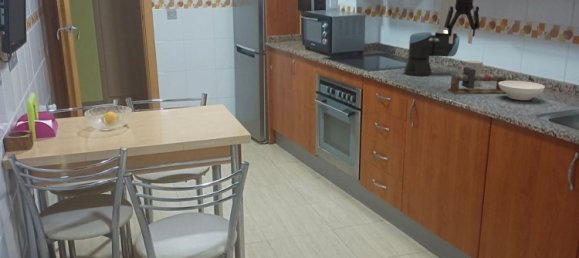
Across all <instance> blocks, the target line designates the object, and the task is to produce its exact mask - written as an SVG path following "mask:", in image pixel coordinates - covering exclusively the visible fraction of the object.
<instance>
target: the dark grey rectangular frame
mask: <svg viewBox="0 0 579 258" xmlns="http://www.w3.org/2000/svg"><path fill="white" fill-rule="evenodd" d="M475 71H476V70H475V69H472V68H470V67H465V66H464V67H463V72H462V75H469V76H468V81H461V82H462V84H461V86H462V87H463V88H468V89H474V88H475V87H474V80H475Z"/></svg>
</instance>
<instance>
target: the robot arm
mask: <svg viewBox="0 0 579 258" xmlns="http://www.w3.org/2000/svg"><path fill="white" fill-rule="evenodd" d="M473 3H474V0H440V9H439V11H440V12H439V19H438V21H439V22H438V28H437V30H436V31H435V34H432V32H431V31H428V32H426V31H425V32H416V33H412V34H411V35H410V36H409V42H408V44H409V45H408V55H407V57H408V58H407V62H406V65H405V67H404V68H403V70H404V71H403V73H404V74H405V75H407V76H415V77H428V76H431V75H432V67H431V64H430V57H445V58H447V57H448V58H449V57H454V56H456V54H457V52H458V49H459V46H460V36H459V35H457V34H458V32H457V31H456V28H455V26H456V23H457V21H458V19H459V17H460V16H461V15H462V16H463V15H464V16H465V15H466V18H467V21H468V22H469V27H470V29H469V30H468V36H467V37H468V38H467V39H468V41H467V44H471V45H472V44H473V37H474V36H476V35H475V33H476V30H478V29H479V28H480V17H479V16H480V15H479V10H480V7H479V6H476V5H475V6H474V4H473ZM472 11H473V17H472Z"/></svg>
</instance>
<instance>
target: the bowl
mask: <svg viewBox="0 0 579 258" xmlns="http://www.w3.org/2000/svg"><path fill="white" fill-rule="evenodd" d="M498 84H499V87H500V89H501V90H502V91H505V92H506V95H507V98H508V99H512V100H518V101H529V100H532V99H533V98H534V97H535V96H536V95H539V94H541V93H542V92H543V91H544V90H545V88H546V87H545V85H543V84H541V83H537V82H531V81H524V80H523V81H522V80H506V81H501V82H499V83H498Z"/></svg>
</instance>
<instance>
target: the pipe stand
mask: <svg viewBox="0 0 579 258" xmlns="http://www.w3.org/2000/svg"><path fill="white" fill-rule="evenodd" d="M468 76H469V75H463V74H454V75H451V79H450V88H448V89H447V91H448V92H449V93H452V94H454V95H482V94H483V95H500V94H501V95H505V94H506V92H505V91H502V90H501V89H500V87H499V84H498V83H499V82H501V81H507V77H505V76H504V75H503V74H489V73H487V74H485V73H484V74H481V75H475V80H474V81H480V82H496V83H495V84H496V85H495V88H494V87H492V88H489V87H488V88H483V87H482V88H477V87H476V88H475V87H474V89H468V88H466V87H462V88H460V82H462V81H468ZM506 95H507V94H506Z"/></svg>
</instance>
